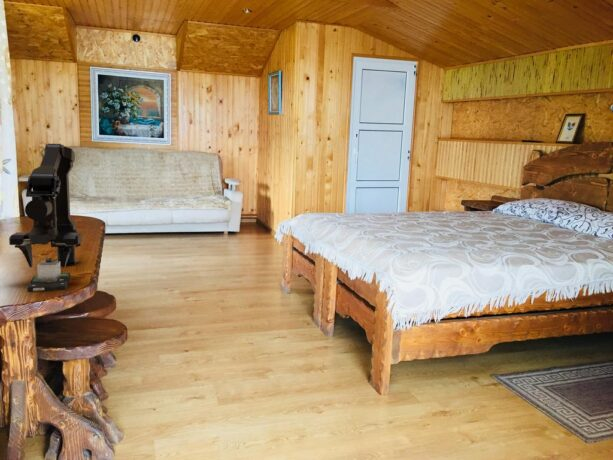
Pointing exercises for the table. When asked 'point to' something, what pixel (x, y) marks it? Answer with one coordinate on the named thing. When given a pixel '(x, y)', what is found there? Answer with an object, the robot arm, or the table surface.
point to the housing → (49, 270)
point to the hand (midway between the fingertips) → (47, 267)
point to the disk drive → (49, 284)
